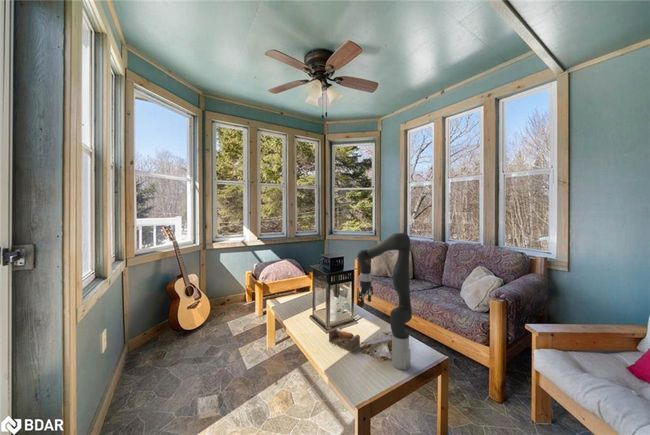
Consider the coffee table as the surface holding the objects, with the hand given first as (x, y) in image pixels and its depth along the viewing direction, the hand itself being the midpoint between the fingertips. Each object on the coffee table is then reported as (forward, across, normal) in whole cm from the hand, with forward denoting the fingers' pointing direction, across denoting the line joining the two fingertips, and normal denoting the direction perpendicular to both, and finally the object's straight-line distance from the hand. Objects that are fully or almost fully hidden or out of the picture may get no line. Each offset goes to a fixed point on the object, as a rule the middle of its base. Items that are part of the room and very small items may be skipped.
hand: (366, 303), depth 167 cm
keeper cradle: (+26, -12, +10) cm, 30 cm away
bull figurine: (+25, -12, +10) cm, 29 cm away
